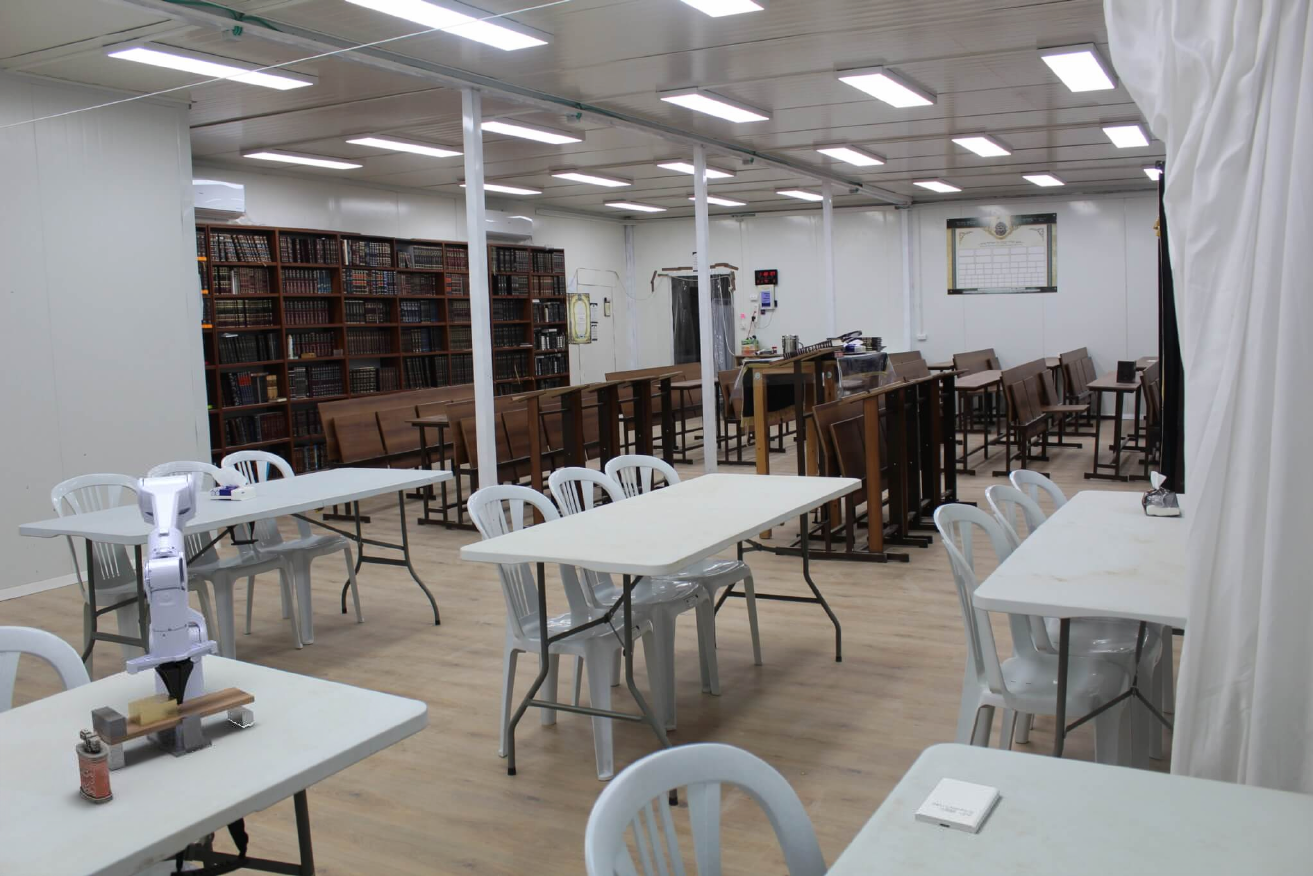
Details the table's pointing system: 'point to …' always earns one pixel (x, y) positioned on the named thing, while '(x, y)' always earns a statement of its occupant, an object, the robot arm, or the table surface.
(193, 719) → the stand
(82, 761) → the lighter
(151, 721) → the block
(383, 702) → the table surface
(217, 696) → the beam
